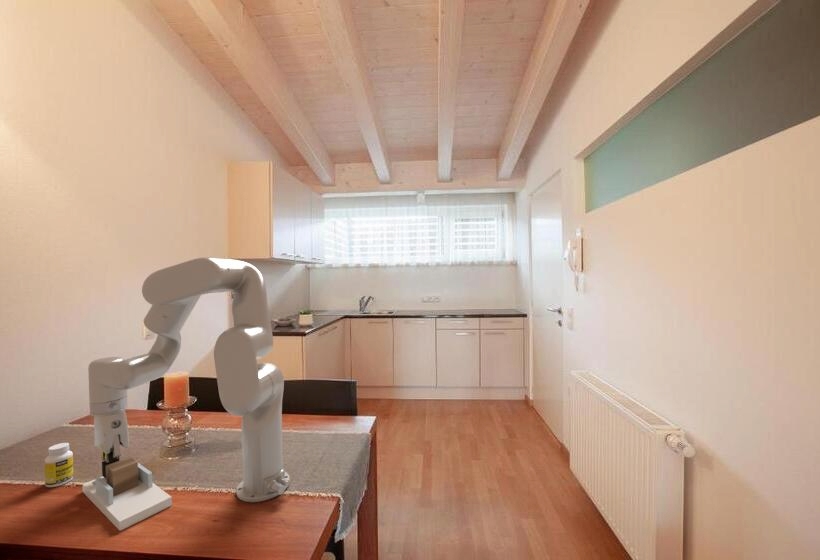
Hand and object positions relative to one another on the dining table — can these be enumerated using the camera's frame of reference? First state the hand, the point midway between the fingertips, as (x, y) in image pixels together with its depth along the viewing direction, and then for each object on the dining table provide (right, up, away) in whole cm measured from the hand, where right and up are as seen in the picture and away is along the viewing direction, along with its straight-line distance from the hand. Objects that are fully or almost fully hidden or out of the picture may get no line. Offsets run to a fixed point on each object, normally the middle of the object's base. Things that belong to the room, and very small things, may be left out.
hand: (111, 474), depth 92 cm
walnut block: (+7, -1, -4) cm, 8 cm away
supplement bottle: (-16, -4, +2) cm, 17 cm away
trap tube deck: (+8, -3, -6) cm, 10 cm away
